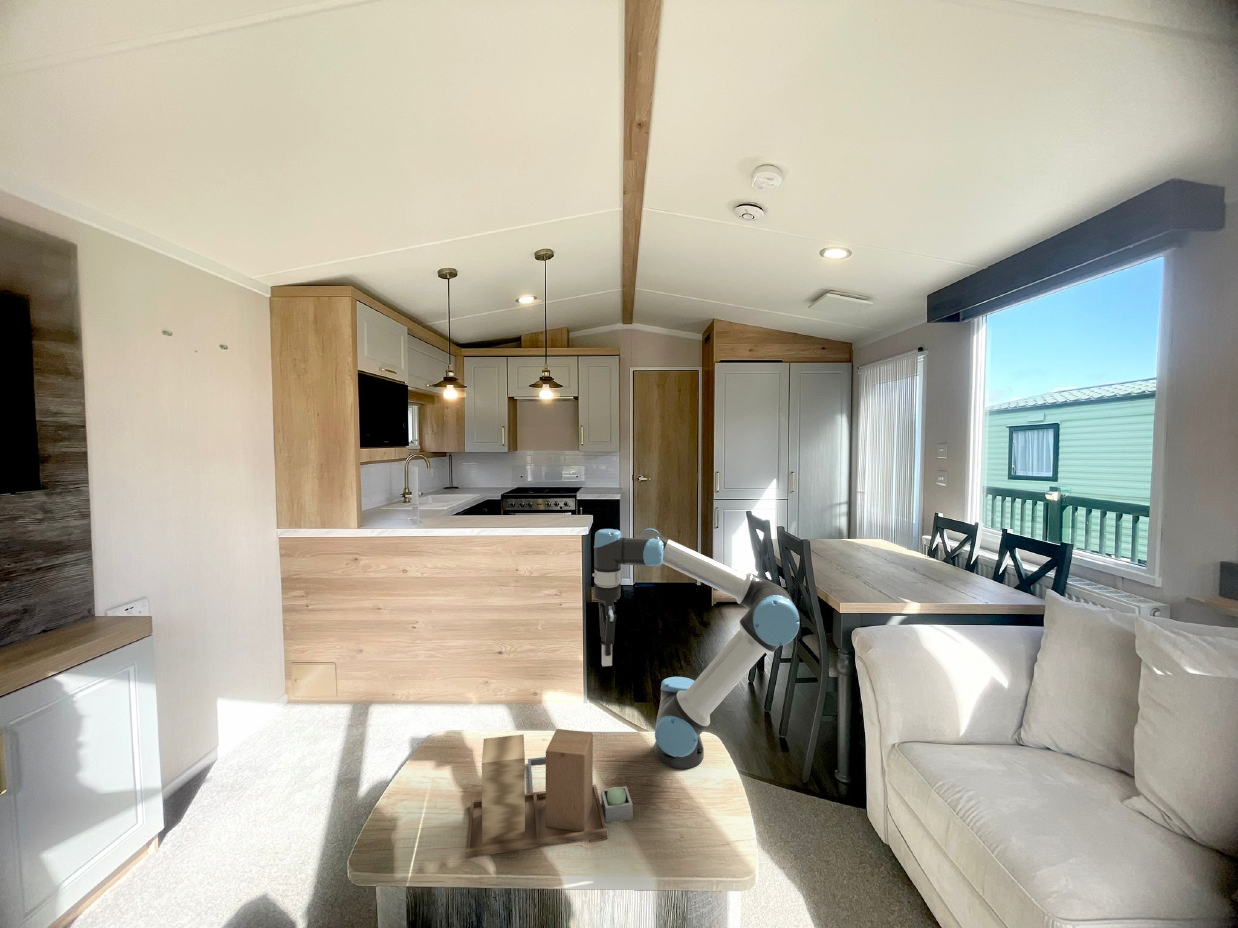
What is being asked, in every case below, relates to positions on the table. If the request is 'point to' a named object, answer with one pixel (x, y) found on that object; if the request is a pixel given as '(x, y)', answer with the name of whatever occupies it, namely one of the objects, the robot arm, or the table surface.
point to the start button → (616, 796)
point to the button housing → (616, 808)
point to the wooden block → (569, 780)
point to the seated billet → (503, 789)
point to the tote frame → (531, 762)
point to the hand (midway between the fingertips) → (606, 664)
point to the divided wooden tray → (534, 827)
